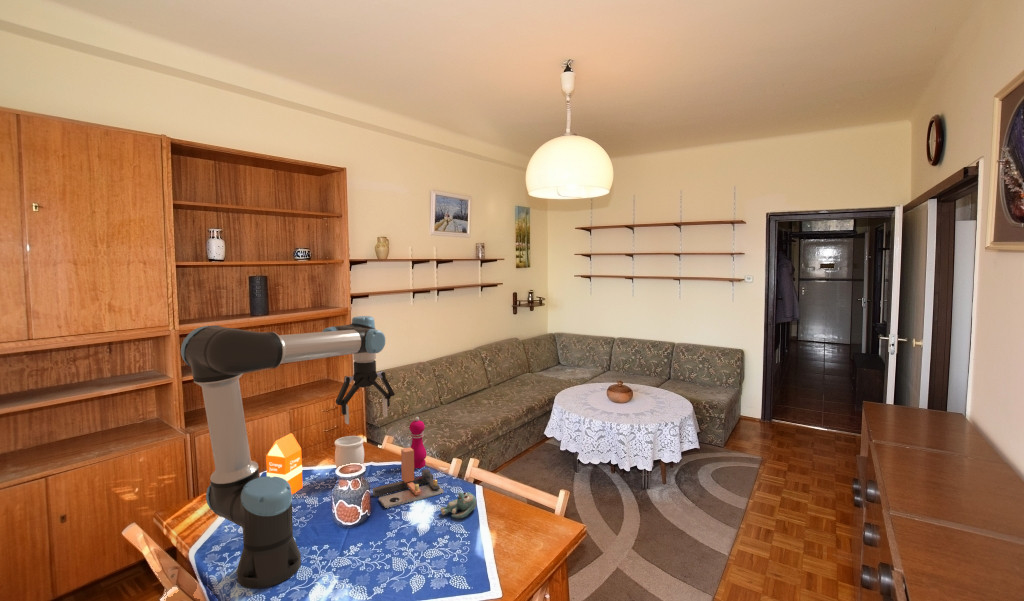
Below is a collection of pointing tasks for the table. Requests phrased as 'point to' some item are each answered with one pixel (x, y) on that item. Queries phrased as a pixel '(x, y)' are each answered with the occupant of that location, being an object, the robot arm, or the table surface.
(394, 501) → the bolt plate
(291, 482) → the orange juice
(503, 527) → the table surface
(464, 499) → the stuffed animal
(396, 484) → the rail
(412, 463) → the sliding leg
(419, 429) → the pepper mill
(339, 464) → the jar
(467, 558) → the table surface
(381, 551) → the table surface
